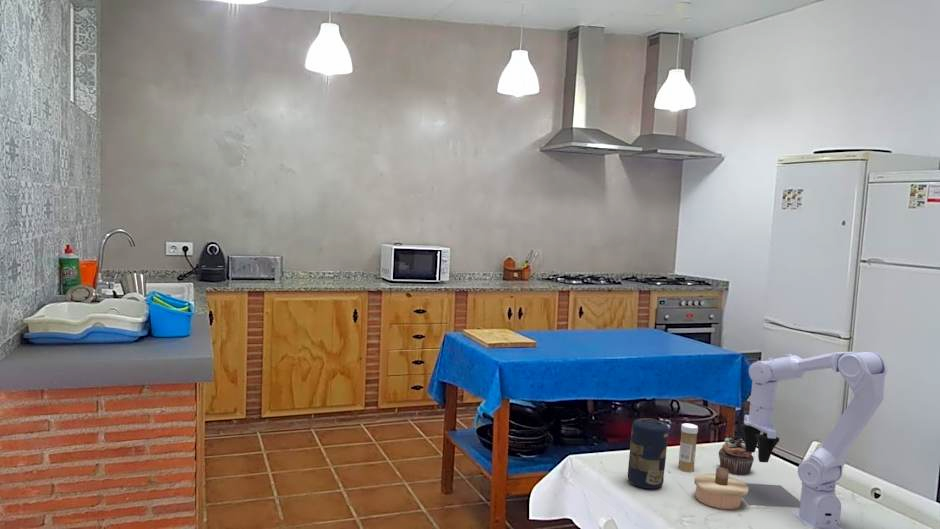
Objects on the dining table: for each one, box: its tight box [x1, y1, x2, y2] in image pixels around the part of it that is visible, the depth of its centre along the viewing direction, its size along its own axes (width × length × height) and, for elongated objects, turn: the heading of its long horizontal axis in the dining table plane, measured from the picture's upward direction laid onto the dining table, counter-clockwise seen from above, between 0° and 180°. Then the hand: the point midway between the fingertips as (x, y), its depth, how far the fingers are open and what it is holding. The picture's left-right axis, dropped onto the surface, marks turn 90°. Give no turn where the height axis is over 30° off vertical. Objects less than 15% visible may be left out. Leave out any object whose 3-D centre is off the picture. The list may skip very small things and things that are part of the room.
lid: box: [693, 467, 749, 496], centre depth 181 cm, size 13×13×4 cm
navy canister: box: [627, 417, 669, 489], centre depth 191 cm, size 10×10×18 cm
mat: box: [742, 482, 800, 509], centre depth 188 cm, size 15×15×1 cm
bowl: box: [695, 485, 743, 510], centre depth 182 cm, size 11×11×4 cm
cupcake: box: [718, 435, 755, 476], centre depth 206 cm, size 10×10×10 cm
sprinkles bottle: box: [677, 422, 699, 473], centre depth 203 cm, size 5×5×13 cm
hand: (756, 456), depth 188 cm, fingers open, 7 cm apart
